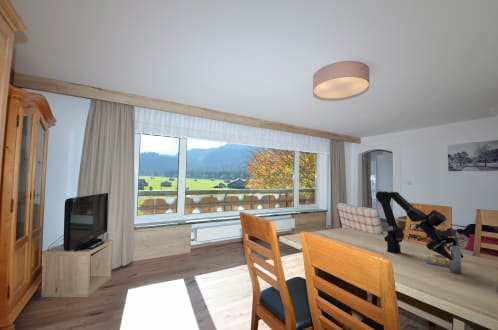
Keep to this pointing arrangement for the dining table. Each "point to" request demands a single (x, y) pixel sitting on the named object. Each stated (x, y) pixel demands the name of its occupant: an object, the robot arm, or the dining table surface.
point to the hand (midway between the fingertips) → (457, 258)
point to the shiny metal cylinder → (455, 259)
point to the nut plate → (438, 260)
